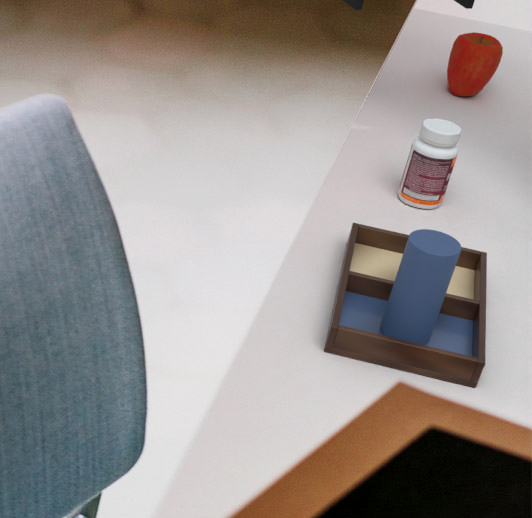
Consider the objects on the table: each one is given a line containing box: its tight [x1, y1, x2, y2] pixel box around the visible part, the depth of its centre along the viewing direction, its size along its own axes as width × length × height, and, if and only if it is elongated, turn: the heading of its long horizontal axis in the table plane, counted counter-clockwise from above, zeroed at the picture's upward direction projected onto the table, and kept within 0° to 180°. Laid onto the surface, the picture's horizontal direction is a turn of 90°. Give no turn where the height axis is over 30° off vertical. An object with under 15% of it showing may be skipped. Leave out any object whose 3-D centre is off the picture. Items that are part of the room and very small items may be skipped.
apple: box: [446, 32, 504, 97], centre depth 150 cm, size 6×6×8 cm
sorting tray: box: [323, 222, 488, 389], centre depth 108 cm, size 13×20×3 cm, turn 164°
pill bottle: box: [397, 117, 462, 210], centre depth 125 cm, size 5×5×8 cm
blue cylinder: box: [381, 228, 462, 345], centre depth 102 cm, size 4×4×9 cm
